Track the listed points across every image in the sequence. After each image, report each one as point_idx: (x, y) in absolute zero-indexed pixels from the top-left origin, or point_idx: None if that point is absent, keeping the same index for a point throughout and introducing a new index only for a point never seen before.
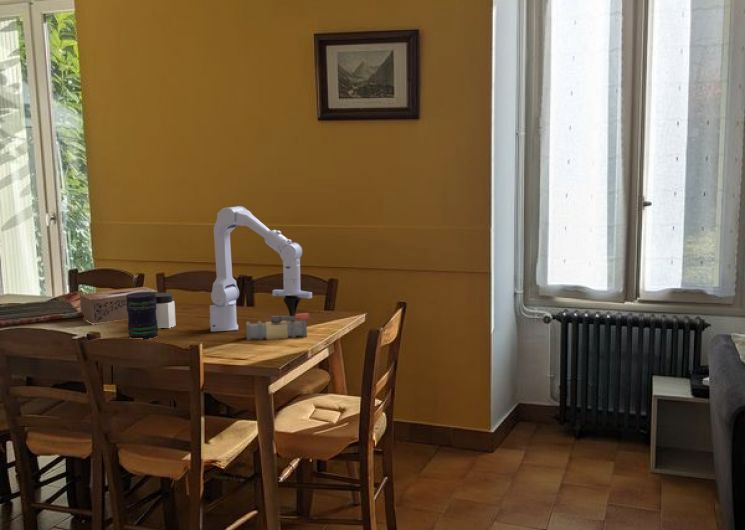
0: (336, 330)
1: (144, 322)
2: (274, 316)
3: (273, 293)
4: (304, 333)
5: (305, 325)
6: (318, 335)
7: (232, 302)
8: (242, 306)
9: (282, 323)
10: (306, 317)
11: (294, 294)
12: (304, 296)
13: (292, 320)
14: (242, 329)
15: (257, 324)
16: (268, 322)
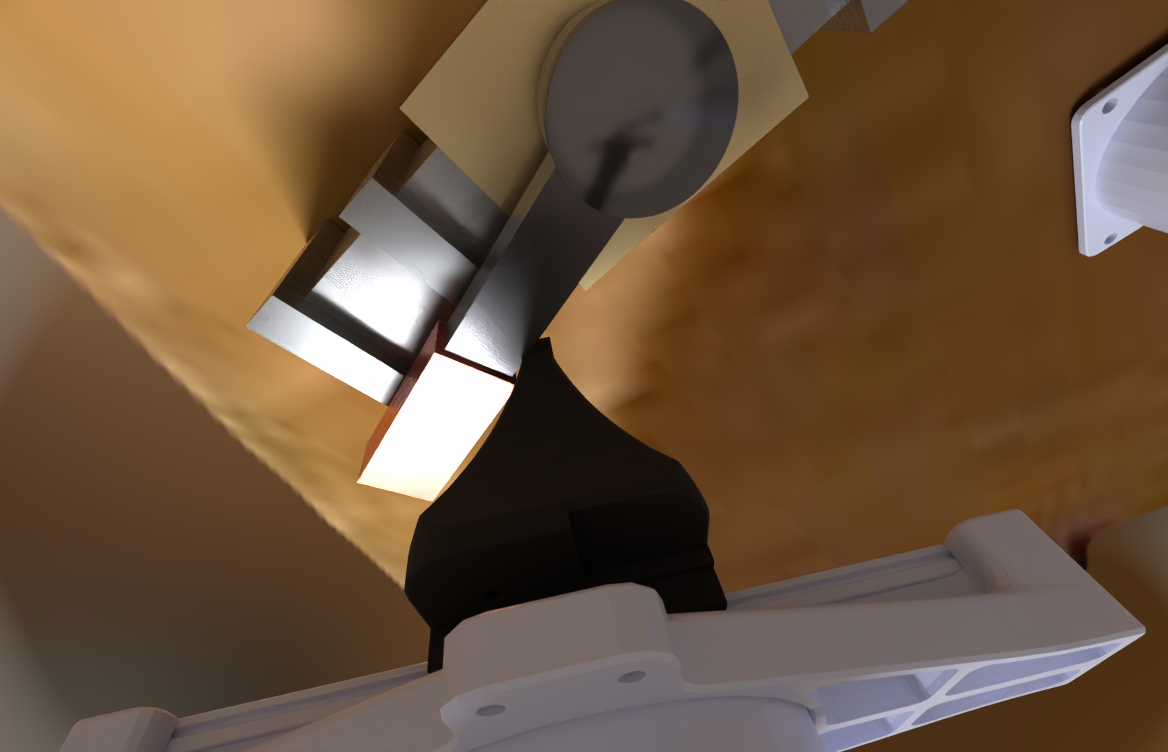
0: (323, 497)
1: None
2: (678, 119)
3: (1046, 560)
4: (308, 242)
5: (270, 293)
6: None
7: None
8: (1074, 535)
9: (510, 124)
10: (379, 430)
11: (360, 723)
12: (251, 737)
13: None
14: (1024, 176)
15: None
16: (747, 75)
